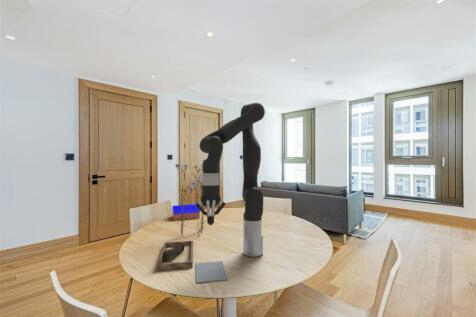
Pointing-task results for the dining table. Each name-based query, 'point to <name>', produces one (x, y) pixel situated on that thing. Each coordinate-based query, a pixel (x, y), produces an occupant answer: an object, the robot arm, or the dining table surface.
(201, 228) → the wildflower
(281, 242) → the dining table surface
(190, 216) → the house
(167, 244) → the wooden frame
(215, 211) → the robot arm
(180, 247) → the hand tool
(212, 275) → the mat
